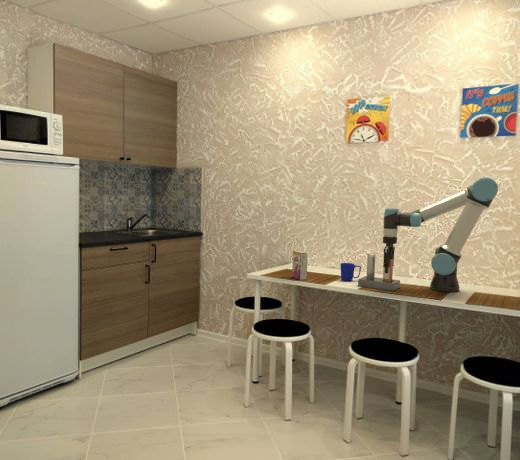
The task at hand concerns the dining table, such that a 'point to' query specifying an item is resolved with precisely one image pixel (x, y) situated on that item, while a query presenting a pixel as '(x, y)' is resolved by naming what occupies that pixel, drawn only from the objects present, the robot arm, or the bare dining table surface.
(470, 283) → the dining table surface
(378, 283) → the gray socket post base
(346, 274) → the mug
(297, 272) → the candy bar box
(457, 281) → the robot arm
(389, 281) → the orange rectangular block
